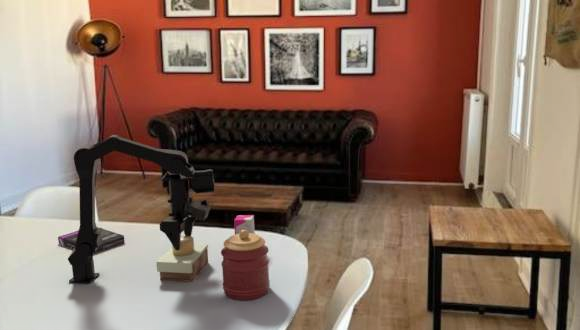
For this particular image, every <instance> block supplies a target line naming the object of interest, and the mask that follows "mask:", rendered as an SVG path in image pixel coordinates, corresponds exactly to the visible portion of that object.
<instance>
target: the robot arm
mask: <svg viewBox="0 0 580 330" xmlns="http://www.w3.org/2000/svg"><path fill="white" fill-rule="evenodd" d="M112 152H118V153H121V154H124V155H128V156H131V157H134V158H138V159H140V160H144V161H147V162H151V163H153V164H156V165H158V166H159V167H161V168H163V169H164V170H166V173H165V174H164V175H163V176H162V178H161V181H162V182H168V189H169V198H168V199H167V203H168V204H170V211H169V212H168V216H169V217H166V218H164V219H163V220H162V221H161V222H160V223H159V231H160V232H162V233H163V234H164V235H165V236H166V237H167V239H168V240H169V242H170V243H171V246H172V245H173V247H174V248H175V250H179V249H180V238H181V236H182V235H181V234H182V233H183V234H184V236H191V237H192V233H193V228H194V224H195V221H196V220H199V221H200V222H202V221H203V222H204V221H205V219H207V218H208V216H209V212H210V211H211V205H210V203H209V202H210V201H209V200H208V199H205V198H204V199H202V201H200V202H199V201H195V200H194V197H193V195H191V194H190V188H191V191H192V192H193V193H195V194H196V195H197V194H211V193H212V194H213V193H215V178H214V171H213V169H205V170H195V168H194V167H193V165H192V164H190V162H189V159H188V156H187V154H186V153H185V152H183V151H182V150H176V149H164V148H157V147H154V146H151V145H147V144H143V143H141V142H137V141H134V140H131V139H128V138H124V137H122V136H119V135H117V134H112V135H111V136H109V137H107V138H105V139H103V140H101V141H98V142H96V143H95V144H85V145H83V146H81V147H80V148H79V149H78V150H76V151H75V153H74V154H73V162H74V167H75V171H76V174H77V177H78V179H79V181H78V183H79V184H78V185H79V188H78V189H79V228H78V230H79V231H78V230H77V231H78V235H77V239H76V245H75V249H73V251H71V253H70V255H69V256H68V258H67V260H68V263H69V265H70V266H71V269H72V277H71V278H70V279H69V280H68V282H69V283H75V284H76V283H77V284H90V283H91V282H93V281H94V280H95V279H96V278H97V277H98V276H100V273H99V272H95V262H94V255H95V254H96V253H95V251H96V250H97V248H98V247H99V245H100V243H101V242H102V237H101V232H102V229H103V228H102V227H98V226H97V224H96V175H97V174H96V173H97V169H98V166H99V161H100V159H101V158H103V157H104V156H107V155H108V154H111V153H112ZM97 227H98V228H97Z"/></svg>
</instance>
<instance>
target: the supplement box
mask: <svg viewBox="0 0 580 330" xmlns="http://www.w3.org/2000/svg"><path fill="white" fill-rule="evenodd" d="M233 223H234V224H233V226H234V235H235V234H239V233H240V231H241V230H247V231H248V233H252V234H256V233H255V232H256V231H255V215H254V214H246V215H245V214H244V215H243V214H239V215H236V217H235V218H234V220H233Z"/></svg>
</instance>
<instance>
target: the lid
mask: <svg viewBox="0 0 580 330" xmlns="http://www.w3.org/2000/svg"><path fill="white" fill-rule="evenodd" d="M208 248H209V244H207V243H206V244H205V243H194V253H192V254H190V255H187V256H176V255H174V254H173V249H172V247H170V248H169V249H168V250H167V251H166V252H165V253H164V254H163V255H162V256H161V257H160V258H159V259H158V260H157V261H156V272H157V273H158V272H159V273H160V272H175V273H192V272H193V270H192V264H193V263H194V262H195V261H196V260H197V259H198V258H199V256H200V255H201V254H202V253H203V252H204V251H205V250H206V249H207V250H208Z"/></svg>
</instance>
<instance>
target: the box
mask: <svg viewBox="0 0 580 330" xmlns="http://www.w3.org/2000/svg"><path fill="white" fill-rule="evenodd" d="M97 228H99V226H97ZM78 231H79V229H78V230H76V231H73V232H70V233H66V234H63V235H59V236H58V237H57V240H58V244H59V245H62V246H65V247H67V248H70V249H72V248H73V250H74V249H75V245H76V239H77V235H78ZM101 237H102V242H101V243H100V245H99V247H98V248H97V250H96V251H95V253H94V254H96V252H97V253H100V252H102V251H105V250H108V249H112V248H114V247H116V246H119V245H120V246H121V245H122V244H124V243H125V235H124V234H123V235H122V234H121V233H117V232H114V231H110V230H108V229H104V228H102V232H101ZM99 251H100V252H99Z"/></svg>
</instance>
